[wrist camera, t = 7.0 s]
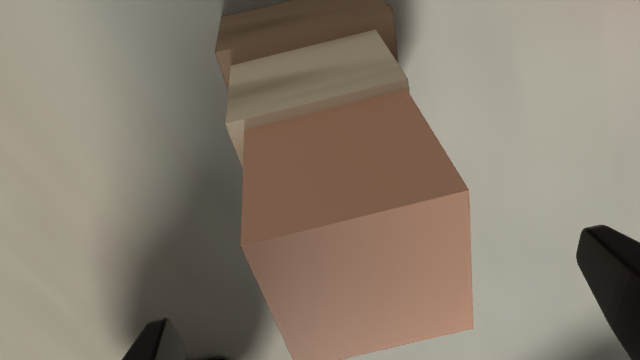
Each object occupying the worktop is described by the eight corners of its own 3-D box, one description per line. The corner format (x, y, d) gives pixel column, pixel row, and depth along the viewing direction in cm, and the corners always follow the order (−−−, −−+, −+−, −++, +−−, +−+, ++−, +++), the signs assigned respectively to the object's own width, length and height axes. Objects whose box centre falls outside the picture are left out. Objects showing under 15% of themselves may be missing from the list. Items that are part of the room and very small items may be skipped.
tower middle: (392, 151, 18) (422, 216, 15) (270, 180, 19) (274, 251, 15) (375, 29, 15) (407, 78, 12) (230, 65, 16) (224, 123, 12)
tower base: (384, 113, 22) (406, 159, 19) (260, 140, 22) (261, 191, 19) (368, -19, 18) (393, 11, 15) (221, 15, 18) (214, 52, 15)
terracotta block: (420, 211, 15) (473, 328, 11) (286, 244, 15) (297, 369, 12) (406, 88, 12) (469, 190, 9) (244, 130, 13) (240, 246, 9)
